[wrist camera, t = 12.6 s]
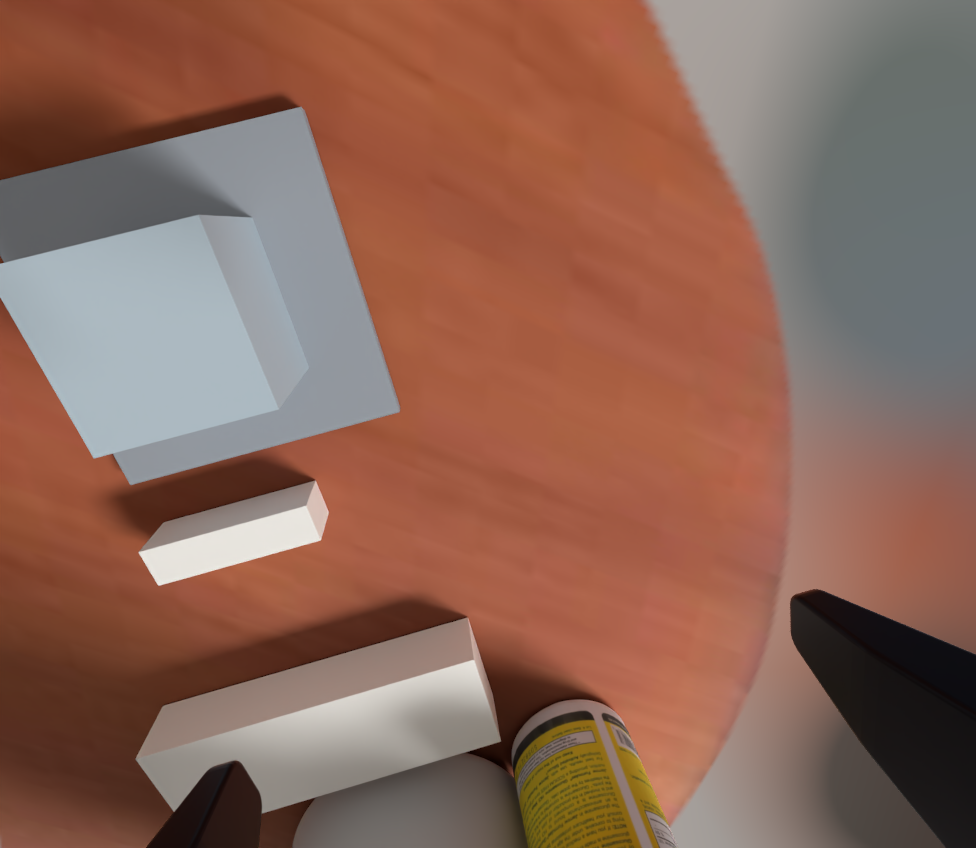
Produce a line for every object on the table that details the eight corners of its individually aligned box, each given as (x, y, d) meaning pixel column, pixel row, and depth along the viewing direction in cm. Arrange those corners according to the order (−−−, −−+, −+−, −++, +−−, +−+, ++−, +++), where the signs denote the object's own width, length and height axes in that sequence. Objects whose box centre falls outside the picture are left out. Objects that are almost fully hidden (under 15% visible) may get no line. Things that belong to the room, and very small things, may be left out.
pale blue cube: (167, 404, 18) (94, 458, 14) (93, 257, 16) (-17, 268, 12) (309, 367, 18) (278, 409, 14) (252, 217, 16) (198, 214, 12)
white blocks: (211, 778, 25) (190, 835, 23) (59, 550, 20) (14, 593, 18) (492, 694, 26) (501, 741, 23) (414, 452, 21) (415, 482, 18)
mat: (138, 477, 19) (130, 485, 19) (-22, 190, 16) (-38, 189, 15) (399, 406, 20) (399, 412, 19) (305, 110, 16) (300, 107, 16)
